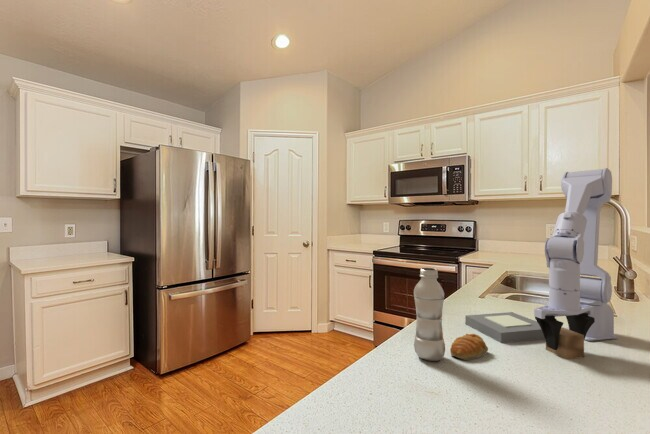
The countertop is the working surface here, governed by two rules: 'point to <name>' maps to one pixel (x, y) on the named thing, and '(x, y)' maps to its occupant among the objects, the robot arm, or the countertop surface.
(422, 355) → the plastic bottle
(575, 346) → the walnut cube
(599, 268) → the robot arm
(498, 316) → the slate board
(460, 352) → the pastry
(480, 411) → the countertop surface
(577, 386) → the countertop surface
